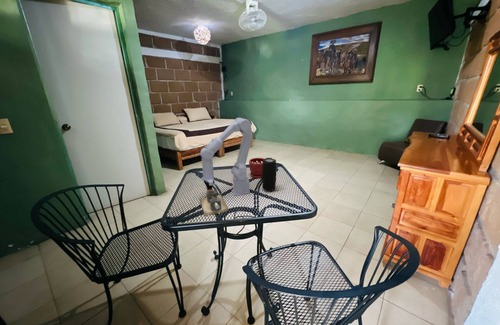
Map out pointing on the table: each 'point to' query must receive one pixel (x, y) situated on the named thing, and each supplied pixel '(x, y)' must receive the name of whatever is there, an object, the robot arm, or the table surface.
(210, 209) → the bearing board
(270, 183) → the portable speaker
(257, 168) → the plant pot
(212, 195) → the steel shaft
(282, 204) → the table surface
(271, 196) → the table surface
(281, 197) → the table surface
